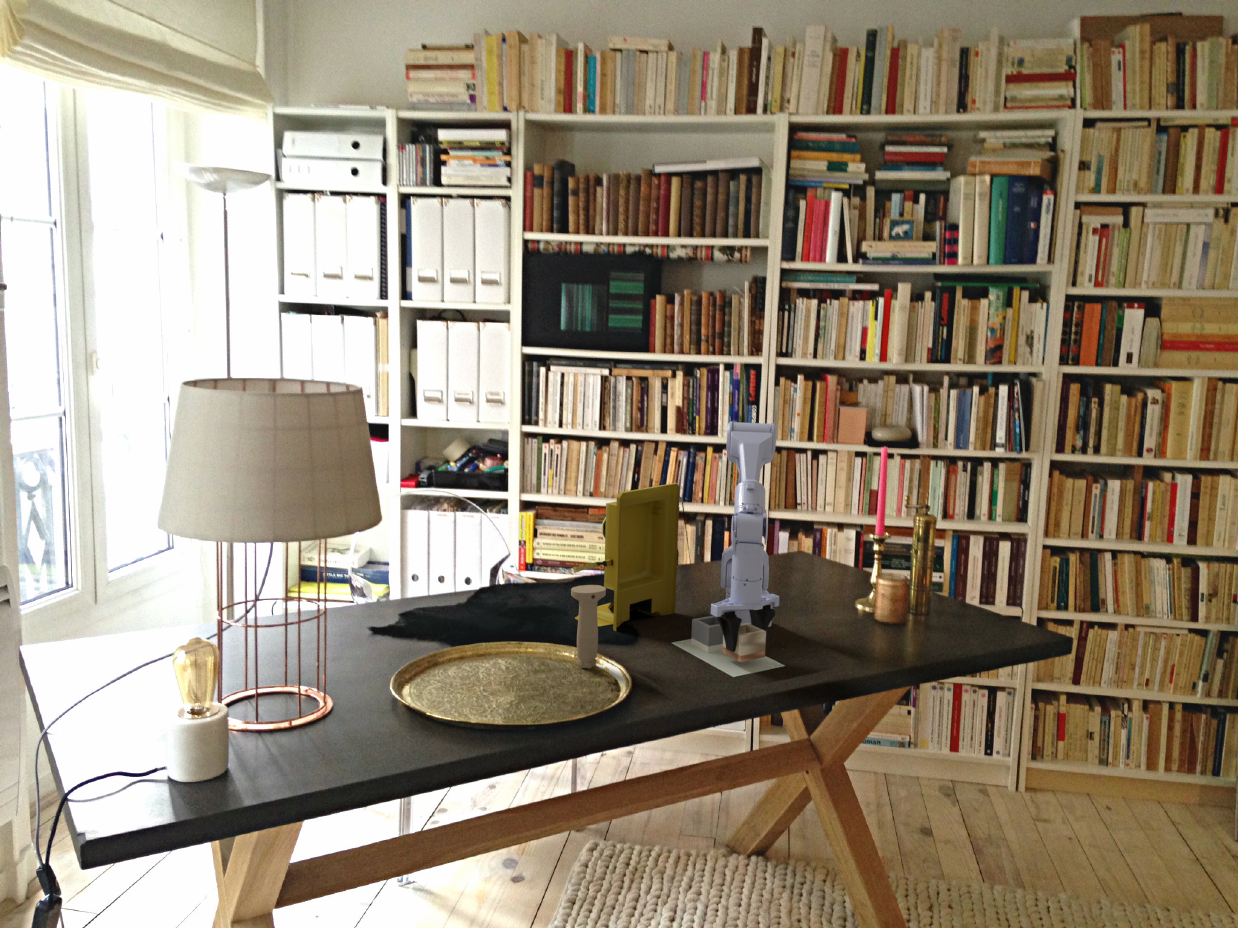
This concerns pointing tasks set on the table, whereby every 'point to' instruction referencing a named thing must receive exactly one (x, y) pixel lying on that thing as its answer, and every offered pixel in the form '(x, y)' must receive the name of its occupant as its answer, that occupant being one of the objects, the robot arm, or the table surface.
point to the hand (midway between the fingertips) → (743, 647)
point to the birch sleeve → (748, 643)
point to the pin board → (729, 660)
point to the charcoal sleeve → (707, 634)
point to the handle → (587, 622)
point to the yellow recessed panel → (640, 553)
